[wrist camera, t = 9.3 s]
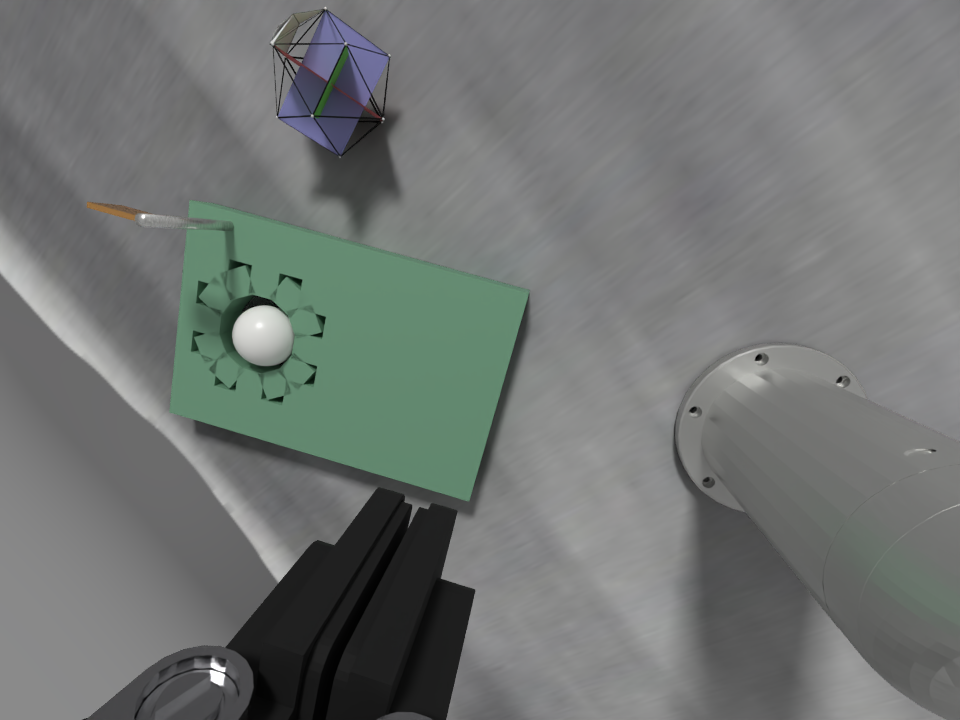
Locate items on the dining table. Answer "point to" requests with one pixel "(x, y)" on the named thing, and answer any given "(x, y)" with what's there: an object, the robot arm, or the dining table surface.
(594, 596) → the dining table surface
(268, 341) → the ball
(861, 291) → the dining table surface
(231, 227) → the flag pin
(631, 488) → the dining table surface
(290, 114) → the geometric puzzle
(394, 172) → the dining table surface
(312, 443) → the green flat slab
